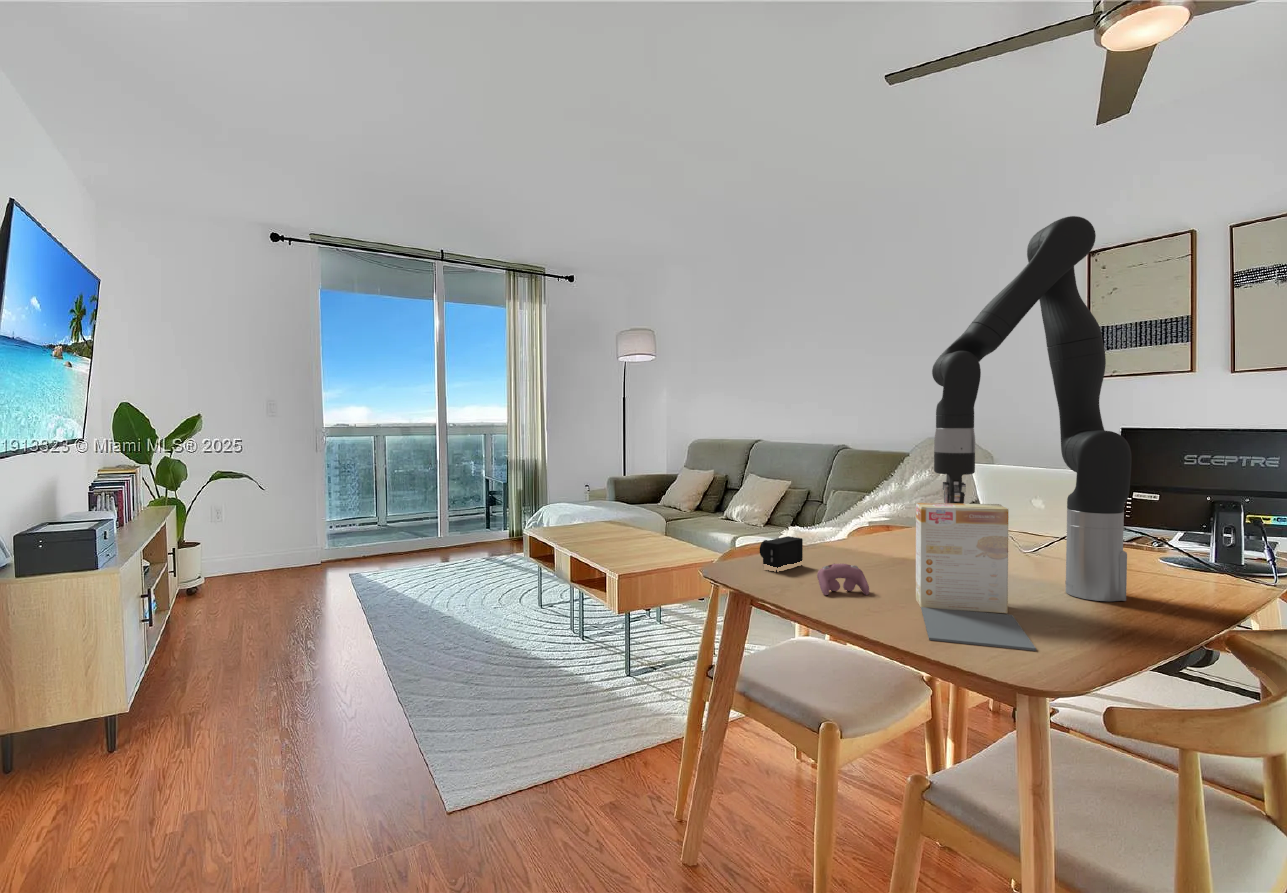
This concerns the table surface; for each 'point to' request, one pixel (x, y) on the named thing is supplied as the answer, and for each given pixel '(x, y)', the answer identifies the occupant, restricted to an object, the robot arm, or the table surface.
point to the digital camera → (782, 551)
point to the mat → (975, 628)
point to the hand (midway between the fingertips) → (953, 534)
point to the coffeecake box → (962, 556)
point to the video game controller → (846, 571)
